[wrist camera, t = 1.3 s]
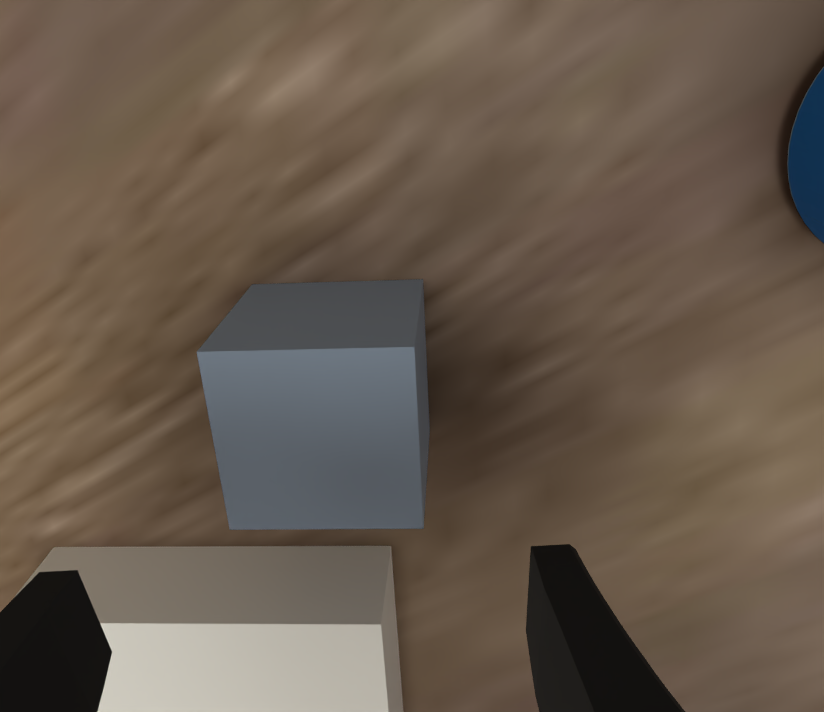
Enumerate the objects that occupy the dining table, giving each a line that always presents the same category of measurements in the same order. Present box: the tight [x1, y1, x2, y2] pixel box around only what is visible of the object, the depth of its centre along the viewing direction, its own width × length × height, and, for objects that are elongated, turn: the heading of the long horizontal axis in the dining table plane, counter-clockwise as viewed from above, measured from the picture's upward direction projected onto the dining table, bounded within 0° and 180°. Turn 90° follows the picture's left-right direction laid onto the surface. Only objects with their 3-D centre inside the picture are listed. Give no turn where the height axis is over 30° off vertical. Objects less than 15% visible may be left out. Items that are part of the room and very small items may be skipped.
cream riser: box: [13, 546, 403, 712], centre depth 26 cm, size 12×12×4 cm
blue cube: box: [197, 279, 430, 530], centre depth 19 cm, size 5×5×5 cm
